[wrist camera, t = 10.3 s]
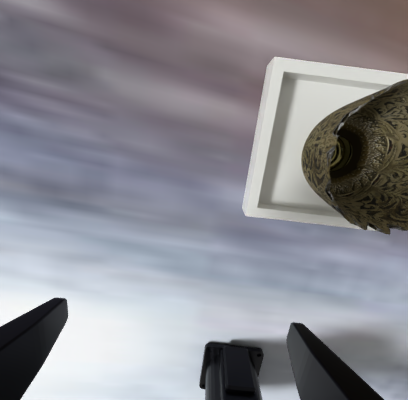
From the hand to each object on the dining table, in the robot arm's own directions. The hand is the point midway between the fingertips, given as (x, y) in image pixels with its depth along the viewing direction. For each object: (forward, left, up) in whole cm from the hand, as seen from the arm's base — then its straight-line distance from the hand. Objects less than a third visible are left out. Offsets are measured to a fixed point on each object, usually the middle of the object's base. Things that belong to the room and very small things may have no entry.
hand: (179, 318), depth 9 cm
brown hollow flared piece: (+7, -10, -12) cm, 17 cm away
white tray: (+7, -10, -12) cm, 17 cm away
